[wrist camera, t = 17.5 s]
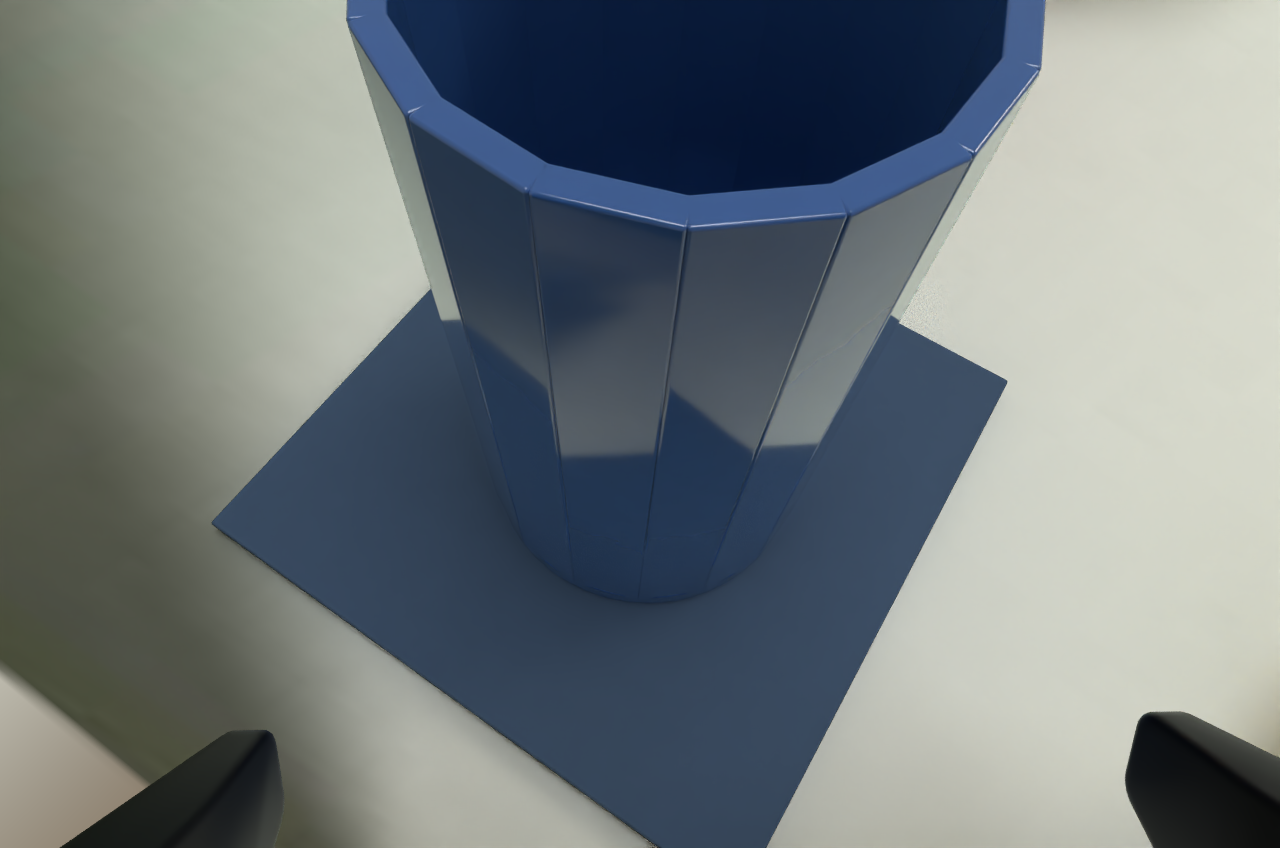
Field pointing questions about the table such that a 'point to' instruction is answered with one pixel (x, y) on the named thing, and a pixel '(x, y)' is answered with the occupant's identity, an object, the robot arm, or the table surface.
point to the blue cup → (679, 241)
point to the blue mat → (606, 628)
